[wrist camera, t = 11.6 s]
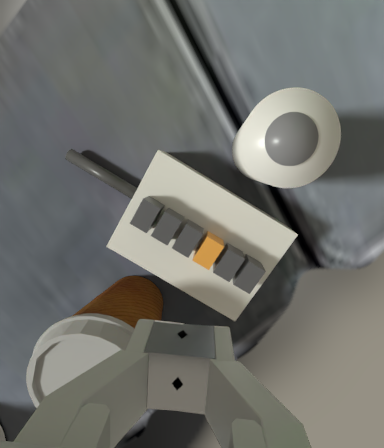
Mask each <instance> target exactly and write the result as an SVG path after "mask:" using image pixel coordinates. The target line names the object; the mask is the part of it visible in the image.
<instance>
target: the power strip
mask: <svg viewBox="0 0 384 448" xmlns="http://www.w3.org/2000/svg"><path fill="white" fill-rule="evenodd" d="M66 160H68V161H69V162H71V163H73V164H74V165H76V166H78V167H79V168H81V169H83V170H84V171H86V172H88V173H89V174H91V175H93V176H94V177H96V178H98V179H99V180H101V181H103V182H105V183H106V184H108V185H110V186H111V187H113V188H115V189H116V190H118V191H120V192H121V193H123V194H125V195H126V196H128V197H130V198H131V199H132V200H131V201H130V203H129V205H128V207H127V209H126V211H125V213H124V215H123V216H122V218H121V220H120V222H119V224H118V226H117V228H116V230H115V231H114V233H113V235H112V237H111V239H110V241H109V243H108V244H107V246H106V247H108V248H110V249H112V250H113V251H115V252H117V253H118V254H120V255H122V256H124V257H125V258H127V259H129V260H130V261H132V262H134V263H136V264H137V265H139V266H141V267H142V268H144V269H146V270H148V271H149V272H151V273H153V274H154V275H156V276H158V277H160V278H161V279H163V280H165V281H166V282H168V283H170V284H172V285H173V286H175V287H177V288H178V289H180V290H182V291H184V292H185V293H187V294H189V295H190V296H192V297H194V298H196V299H197V300H199V301H201V302H203V303H204V304H206V305H208V306H209V307H211V308H213V309H215V310H216V311H218V312H220V313H221V314H223V315H225V316H227V317H228V318H230V319H232V320H233V321H236V320H237V318H238V317H239V315H240V314H241V313H242V311H243V310H244V309H245V307H246V306H247V304H248V303H249V302H250V300H251V299H252V298H253V296H254V295H255V293H256V292H257V291H258V289H259V288H260V287H261V285H262V284H263V282H264V281H265V280H266V278H267V277H268V276H269V274H270V273H271V271H272V270H273V269H274V267H275V266H276V265H277V263H278V262H279V260H280V259H281V258H282V256H283V255H284V254H285V252H286V251H287V249H288V248H289V247H290V245H291V244H292V243H293V241H294V240H295V238H296V237H297V236H298V234H297V233H295V232H294V231H293V230H292V229H290V228H289V227H288V226H287V225H285V224H284V223H282V222H280V221H279V220H277V219H275V218H274V217H272V216H270V215H269V214H267V213H265V212H264V211H262V210H260V209H259V208H257V207H256V206H254V205H252V204H251V203H249V202H247V201H246V200H244V199H242V198H241V197H239V196H237V195H236V194H234V193H232V192H231V191H229V190H228V189H226V188H224V187H223V186H221V185H219V184H218V183H216V182H214V181H213V180H211V179H209V178H208V177H206V176H204V175H203V174H201V173H200V172H198V171H196V170H195V169H193V168H191V167H190V166H188V165H186V164H185V163H183V162H181V161H180V160H178V159H176V158H175V157H173V156H172V155H170V154H168V153H167V152H164V151H160V150H158V151H157V153H156V155H155V157H154V158H153V160H152V162H151V164H150V166H149V168H148V170H147V171H146V173H145V175H144V177H143V179H142V181H141V183H140V185H139V186H138V188H137V187H135V186H133V185H132V184H130V183H128V182H126V181H125V180H123V179H121V178H120V177H118V176H116V175H115V174H113V173H111V172H110V171H108V170H106V169H105V168H103V167H101V166H100V165H98V164H96V163H95V162H93V161H91V160H90V159H88V158H86V157H85V156H83V155H81V154H80V153H78V152H76V151H75V150H73V149H71V150H69V151H68V152H67V154H66Z"/></svg>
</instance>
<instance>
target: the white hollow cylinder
mask: <svg viewBox="0 0 384 448" xmlns="http://www.w3.org/2000/svg"><path fill="white" fill-rule="evenodd" d="M340 140H341V127H340V122H339V118H338V116H337V113H336V111H335V109H334V108H333V106H332V105H331V104H330V102H329V101H328V100H327V99H326V98H324V97H323V96H322V95H320V94H318V93H316V92H315V91H312V90H309V89H305V88H287V89H282V90H279V91H276V92H274V93H272V94H270V95H269V96H267V97H266V98H264V99H263V100H262V101H261V102H260V103H258V105H257V106H256V107H255V108H254V109H253V111H252V112H251V113H250V115H249V116H248V118H247V119H246V121H245V122H244V124H243V125H242V126H241V128H240V129H239V131H238V132H237V134H236V136H235V138H234V141H233V145H232V156H233V160H234V163H235V165H236V167H237V169H238V170H239V171H240V172H241V173H242V174H243V175H244V176H246V177H248V178H250V179H252V180H255V181H259V182H262V183H265V184H268V185H271V186H275V187H279V188H295V187H300V186H303V185H306V184H308V183H310V182H312V181H314V180H316V179H317V178H318V177H320V176H321V175H322V174H323V173H324V172H325V171H326V170H327V169H328V168H329V167H330V165H331V164H332V162H333V161H334V159H335V157H336V155H337V152H338V149H339V146H340Z"/></svg>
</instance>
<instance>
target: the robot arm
mask: <svg viewBox="0 0 384 448" xmlns="http://www.w3.org/2000/svg"><path fill="white" fill-rule="evenodd" d="M146 408H147V409H161V410H175V411H183V412H191V413H197V414H205V417H206V419H207V421H208V423H209V424H210V427H211V429H212V430H213V432H214V434H215V436H216V438H217V440H218V442H219V444H220V446H221V447H222V448H311V445H310V443H309V440H308V437H307V435H306V432H305V430H304V427H303V425H302V423H301V422H300V421H299V420H298V419H297V418H296V417H295V416H294V415H293V414H292V413H291V412H290V411H289V410H288V409H287V408H286V407H285V406H284V405H283V404H282V403H281V402H280V401H279V400H278V399H277V398H276V397H275V396H274V395H273V394H272V393H271V392H270V391H269V390H268V389H267V388H265V387H264V385H263V384H261V383H260V382H259V380H257V379H256V378H255V377H254V376H253V375H252V374H251V373H250V372H249V371H248V370H247V369H246V368H245V367H244V366H243V365H242V364H241V363H240V362H237V361H235V358H234V352H233V345H232V339H231V332H230V328H229V327H226V326H206V325H192V324H184V323H175V322H167V321H158V320H155V321H154V320H149V319H139V320H138V322H137V324H136V326H135V329H134V331H133V333H132V335H131V337H130V340H129V342H128V344H127V346H126V349H125V351H124V350H120V351H118V352H116V353H115V354H113V355H112V356H110V357H108V358H107V359H105V360H103V361H102V362H100V363H99V364H97V365H95V366H94V367H92V368H91V369H89V370H87V371H86V372H84V373H82V374H81V375H79V376H78V377H76V378H74V379H73V380H71V381H70V382H68V383H66V384H65V385H63V386H61V387H60V388H58V389H57V390H55V391H53V392H52V393H50V394H49V395H47V396H45V397H44V399H43V400H42V402H41V403H40V405H39V406H38V407H37V409H36V410H35V412H34V413H33V414H32V416H31V417H30V419H29V420H28V421H27V423H26V424H25V426H24V427H23V429H22V430H21V431H20V433H19V434H18V436H17V437H16V438H15V440H14V441H13V442H10V441H6V439H5V436H4V432H3V429H2V427H1V425H0V448H114V447H115V446H116V445H117V443H118V442H119V441H120V440H121V439H122V438H123V437H124V435H125V434H126V433H127V432H128V431H129V430H130V429H131V427H132V426H133V425H134V424H135V423H136V422H137V420H138V419H139V418H140V417H141V416H142V415H143V414H144V412H145V411H146Z"/></svg>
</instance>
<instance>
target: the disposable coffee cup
mask: <svg viewBox="0 0 384 448" xmlns="http://www.w3.org/2000/svg"><path fill="white" fill-rule="evenodd" d="M162 309H163V298H162V294H161V292H160V290H159V289H158V287H157V286H156V285H155V284H154V283H153V282H151V281H150V280H148V279H146V278H143V277H140V276H127V277H124V278H122V279H120V280H118V281H117V282H116V283H115V284H113V285H112V286H111V287H109V288H108V289H107V290H105V291H104V292H103V293H102V294H100V295H99V296H97V297H96V298H95V299H94V300H92V301H91V302H90V303H89V304H87V305H86V306H85V307H83V308H82V309H81V310H79V311H78V312H77V313H76V314H74V315H73V316H72V317H68V318H65V319H63V320H61V321H59V322H57V323H55V324H53V325H52V326H51V327H50V328H48V329H47V330H46V331H45V332H44V333H43V334H42V336H41V337H40V338H39V339H38V341H37V343H36V346H35V348H34V351H33V355H32V357H31V359H30V362H29V365H28V368H27V377H26V381H27V388H28V391H29V394H30V397H31V399H32V401H33V403H34V405H35V407H36V408H37V407H38V406H39V405H40V403H41V402H42V400H43V399H44V397H45V396H47V395H49V394H50V393H52V392H53V391H55V390H57V389H58V388H60V387H61V386H63V385H65V384H66V383H68V382H70V381H71V380H73V379H74V378H76V377H78V376H79V375H81V374H82V373H84V372H86V371H87V370H89V369H91V368H92V367H94V366H95V365H97V364H99V363H100V362H102V361H103V360H105V359H107V358H108V357H110V356H112V355H113V354H115V353H116V352H118V351H120V350H124V351H125V349H126V346H127V344H128V342H129V340H130V337H131V335H132V333H133V331H134V329H135V326H136V324H137V322H138V320H139V319H149V320H154V321H155V320H158V321H161V317H162ZM146 410H147V408H146ZM139 419H140V418H139ZM139 419H138V420H139ZM138 420H137V421H138ZM136 423H137V422H136ZM136 423H135V424H136ZM135 424H134V425H135ZM134 425H133V426H134Z"/></svg>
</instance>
